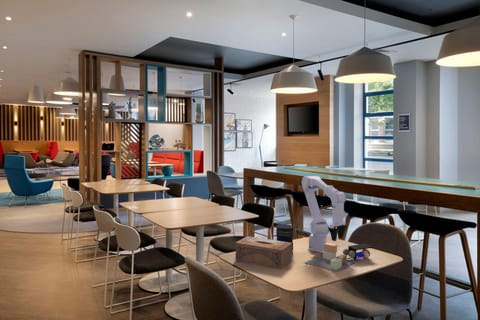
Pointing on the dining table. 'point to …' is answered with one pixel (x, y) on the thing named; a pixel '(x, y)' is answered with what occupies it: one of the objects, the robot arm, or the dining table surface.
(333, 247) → the terracotta brick
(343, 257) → the walnut brick
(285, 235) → the storage jar
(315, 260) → the felt mat
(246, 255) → the tissue box cover
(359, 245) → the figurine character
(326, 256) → the pale grey brick
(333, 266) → the sage brick
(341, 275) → the dining table surface
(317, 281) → the dining table surface
